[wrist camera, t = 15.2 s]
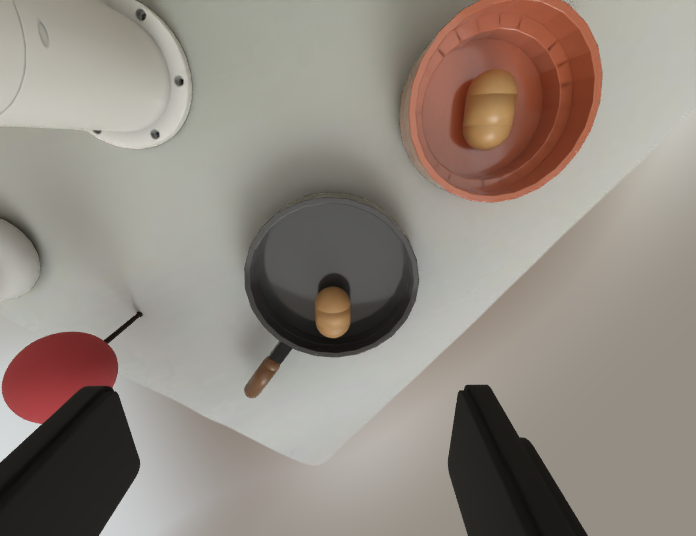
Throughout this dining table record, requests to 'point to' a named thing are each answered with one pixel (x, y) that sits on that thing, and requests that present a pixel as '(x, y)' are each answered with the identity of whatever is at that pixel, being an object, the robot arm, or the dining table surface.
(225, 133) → the dining table surface
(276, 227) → the skillet
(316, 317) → the potato
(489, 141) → the potato
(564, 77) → the bowl
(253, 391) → the skillet handle
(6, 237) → the donut
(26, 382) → the lollipop
